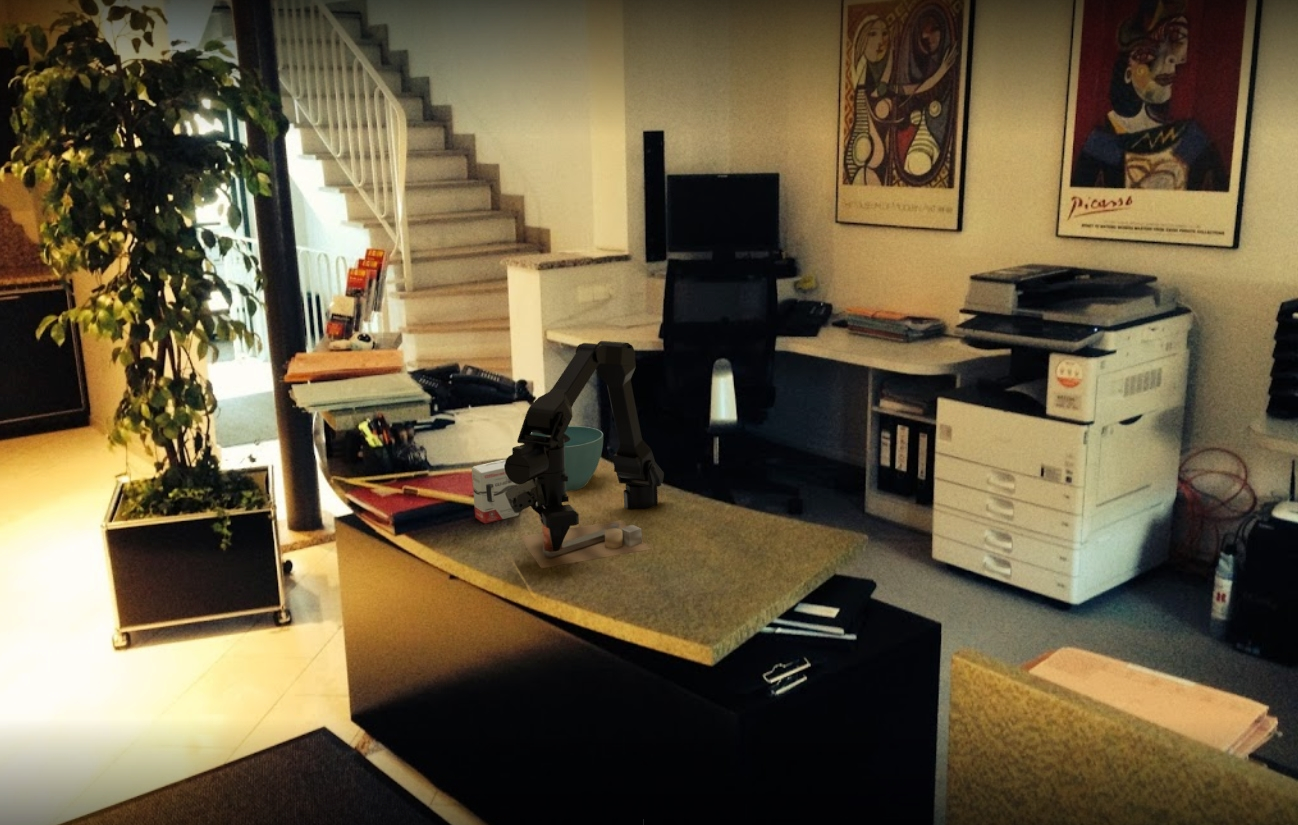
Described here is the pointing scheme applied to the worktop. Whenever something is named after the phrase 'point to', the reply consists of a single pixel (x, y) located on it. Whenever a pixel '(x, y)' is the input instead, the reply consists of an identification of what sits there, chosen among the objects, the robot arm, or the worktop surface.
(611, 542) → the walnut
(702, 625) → the worktop surface
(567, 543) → the lever
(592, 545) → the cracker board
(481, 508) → the ink box
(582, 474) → the teal bowl
